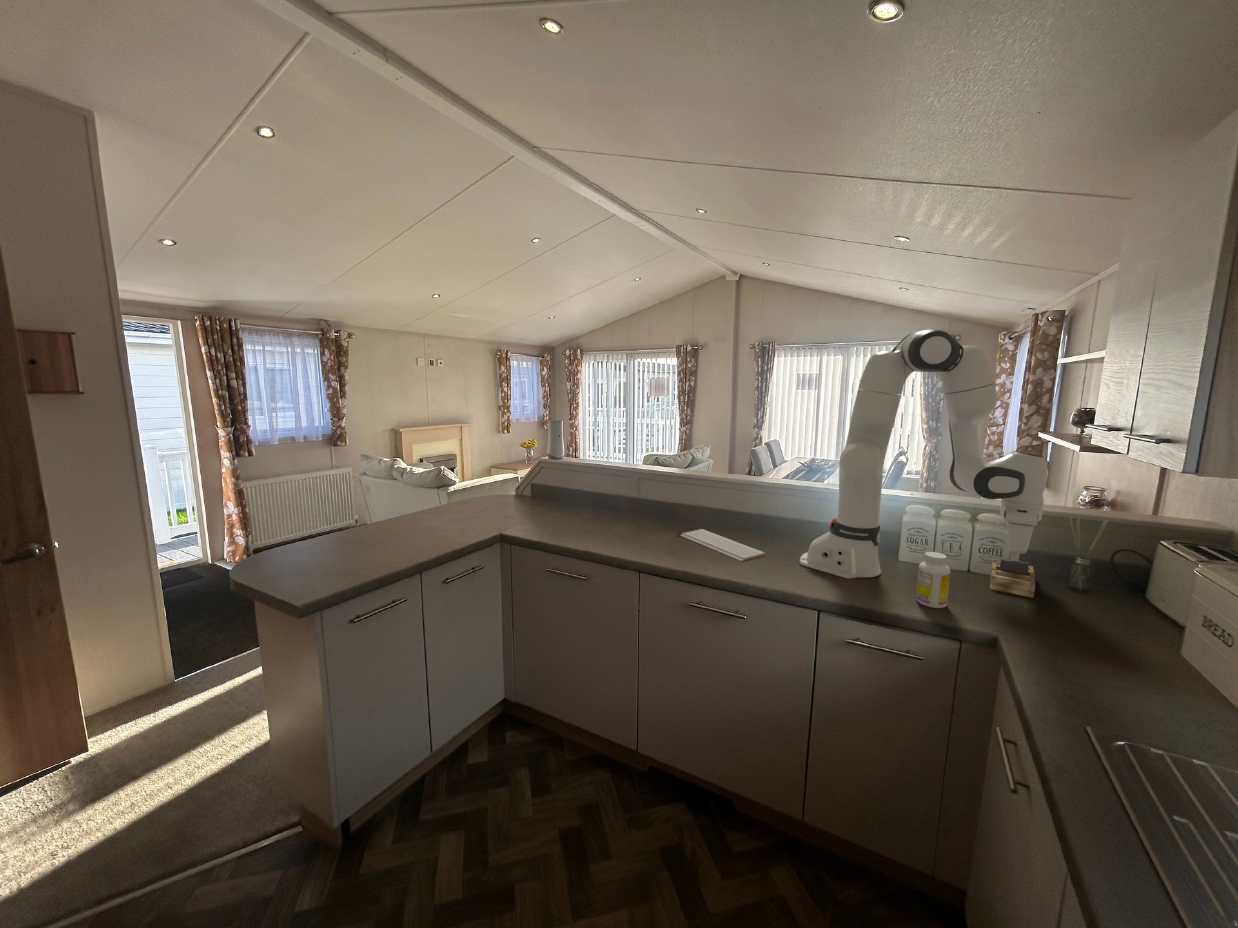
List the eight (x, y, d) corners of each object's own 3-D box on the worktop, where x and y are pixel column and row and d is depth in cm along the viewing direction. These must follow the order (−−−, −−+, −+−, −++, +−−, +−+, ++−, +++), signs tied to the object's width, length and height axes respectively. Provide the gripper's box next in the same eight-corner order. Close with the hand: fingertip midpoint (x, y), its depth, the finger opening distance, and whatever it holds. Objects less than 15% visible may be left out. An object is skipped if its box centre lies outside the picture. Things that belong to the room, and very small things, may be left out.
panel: (998, 578, 136) (1000, 559, 135) (998, 575, 138) (1000, 557, 137) (1026, 583, 132) (1028, 564, 131) (1026, 580, 134) (1028, 561, 133)
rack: (989, 588, 131) (991, 575, 131) (991, 568, 145) (993, 556, 145) (1033, 597, 126) (1035, 584, 125) (1031, 576, 140) (1033, 563, 139)
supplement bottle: (944, 600, 125) (950, 552, 123) (948, 611, 119) (954, 561, 117) (914, 595, 128) (919, 548, 125) (916, 605, 122) (921, 557, 120)
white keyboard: (737, 564, 152) (764, 557, 158) (738, 555, 152) (765, 548, 158) (676, 537, 178) (701, 532, 184) (676, 530, 178) (702, 525, 184)
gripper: (1006, 501, 142) (1000, 547, 144) (1005, 516, 126) (999, 567, 128) (1034, 504, 138) (1028, 551, 140) (1037, 521, 122) (1030, 573, 124)
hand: (1014, 559), depth 134 cm, fingers closed
